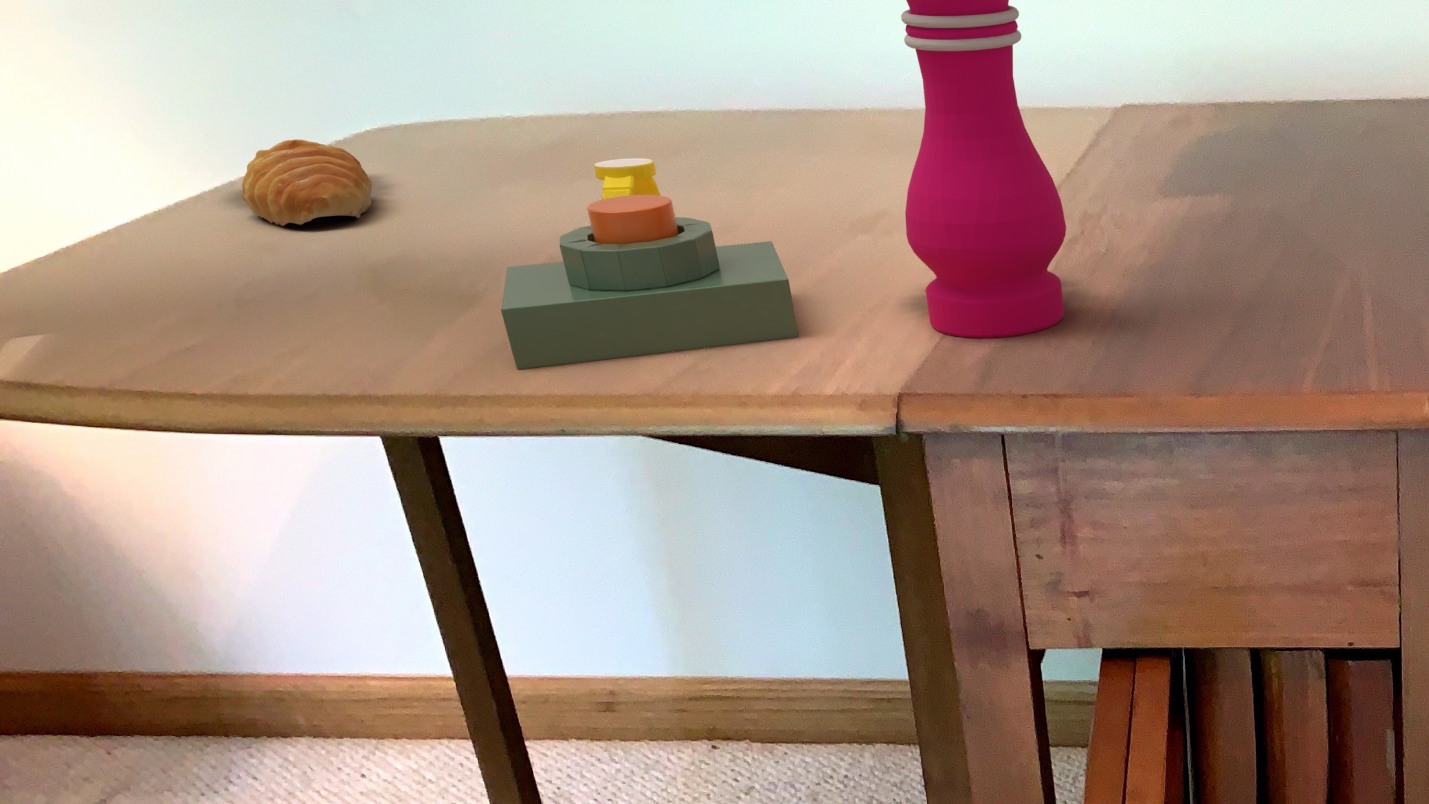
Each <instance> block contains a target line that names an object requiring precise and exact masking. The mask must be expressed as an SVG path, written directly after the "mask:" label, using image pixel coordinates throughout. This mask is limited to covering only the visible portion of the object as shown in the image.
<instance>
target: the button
mask: <svg viewBox="0 0 1429 804" xmlns="http://www.w3.org/2000/svg"><path fill="white" fill-rule="evenodd" d="M586 210H587V215H588V219H589V223H590V225H591V227H592V232H593V236H594V240H595V242H596V243H600V244H630V243H641V242H651V241H656V240H661V239H665V238H670V237H674V236H676V235H679V232H678V228H677V223H676V218H675V217H676V214H675V209H674V206H673V200H672V199H671V198H670V197H668V196H664V195H661V196H659V195H629V196H620V197H613V198H607V199H603V200H602V199H599V200H597V201H594V202H591V203H589V204H588V205H587V207H586Z"/></svg>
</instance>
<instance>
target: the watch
mask: <svg viewBox="0 0 1429 804" xmlns="http://www.w3.org/2000/svg"><path fill="white" fill-rule="evenodd" d="M593 168H594V172H595V177H596V179H598V180H599V181H603V184H602V191H601V200H603V199H607V198H613V197H620V196H629V195H659V196H662V194H661V193H660V190H659V188H658V184H657V182H656V180H655V177H654V176H655V175H656V174H657V172H656V166H655V162H654V160H653V159H651V158H638V157H637V158H634V157H633V158H631V157H629V158H616V159H610V160H603V161H599V162H596V163H594V164H593Z"/></svg>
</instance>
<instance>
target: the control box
mask: <svg viewBox="0 0 1429 804" xmlns="http://www.w3.org/2000/svg"><path fill="white" fill-rule="evenodd" d="M675 218H676V223H677V228H678V232H679V235H676V236H674V237H670V238H665V239H661V240H656V241H651V242H641V243H630V244H600V243H596V242H595V240H594V236H593V232H592V227H591V224H590V225H585V226H582V227H578V228H576V229H573V230H571V231H568V232H567V233H564V234H561V235H560V236H559V249H560V254H561V258H562V261H555V262H546V263H545V262H544V263H536V264H535V263H534V264H525V265H514V266H507V267H506V272H505V279H504V285H503V286H504V287H503V291H502V292H503V293H502V299H501V307H500V313H501V316H502V319H503V323H504V327H505V331H506V334H507V338H508V342H509V345H510V349H511V353H512V356H513V360H514V364H515V368H516V369H517V370H518V371H519V370H529V369H536V368H544V367H545V368H546V367H554V366H562V365H572V364H579V362H580V363H588V362H595V361H596V362H597V361H605V360H615V359H622V358H631V357H640V356H639V355H641V356H648V355H649V356H650V355H655V354H654V353H658V354H665V352H667V353H673V352H672V351H675V352H683V350H684V351H687V350H686V349H693V350H699V349H700V348H701V349H708V348H707V347H710V348H718V347H726V346H734V345H744V344H752V343H761V342H769V341H777V340H787V339H795V338H799V337H800V334H799V329H798V324H797V323H798V322H797V318H796V312H795V307H794V302H793V301H794V300H793V296H792V291H791V285H790V280H789V278H788V275H787V273H786V271H785V268H784V266H783V264H782V261H781V259H780V257H779V254H778V252H777V250H776V247H775V246H774V245H775V244H774V243H773V241H771V240H769V241H760V242H750V243H749V242H748V243H739V244H728V245H719V246H716V241H715V237H714V233H713V229H712V226H711V225H712V224H711V223H710V222H709V221H705V220H701V219H696V218H692V217H684V216H683V217H682V216H681V217H679V216H675ZM704 347H705V348H704Z"/></svg>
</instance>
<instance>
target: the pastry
mask: <svg viewBox="0 0 1429 804" xmlns="http://www.w3.org/2000/svg"><path fill="white" fill-rule="evenodd" d="M241 189H242V190H241V191H242V193H241V198H242V200H243V201H244V203H245V204H246V205H247V206H248V208H249V209H250V210H251V211H252V213H253V214H254V215H256V216H258V217H260V218H261V219H263V218H264V219H265V220H266V221H268V222H269V223H270V224H273V223H274V224H275V225H276V226H278V225H280V226H282V227H284V226H285V225H287V224H289V223H291V224H296V225H303V224H305V223H307V222H311V221H312V220H314V219H316V218H322V217H333V216H349V217H356V218H357V219H361V214H363V213H367V212H368V211H369V209H370V208H371V206H372V200H371V196H372V195H371V194H372V191H373V181H372V179H371V178H370V177H369V175H368V174H367V172H366V171H365V169H364V168H363V167H362V164H361V162H360V161H359V160H358V158H356V156H354V155H352V153H350V152H348V151H346V150H345V149H344V148H342V147H337V146H336V147H335V146H331V145H326V144H323V143H319V142H316V141H309V140H305V139H288V140H283V141H280V142H279V143H276V144H275V145H273V146H272V147H270V148H269V149H260V150H257V152H255V157H254V158H253V159H252V160H251V161H249V162H248V164H247V165H246V172H245V174H244V177H243V179H242V183H241Z"/></svg>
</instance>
